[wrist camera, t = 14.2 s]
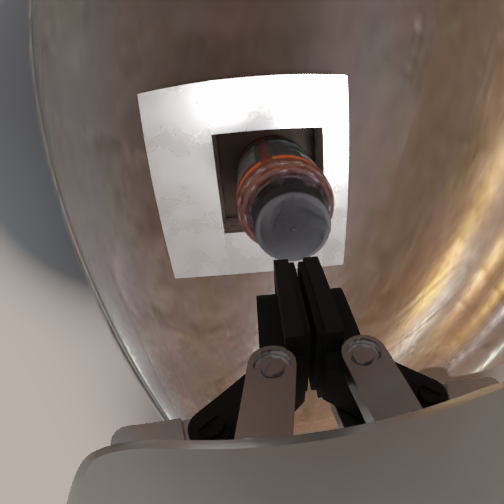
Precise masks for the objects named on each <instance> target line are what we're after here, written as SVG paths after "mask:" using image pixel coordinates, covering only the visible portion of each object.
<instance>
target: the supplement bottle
mask: <svg viewBox="0 0 504 504" xmlns="http://www.w3.org/2000/svg"><path fill="white" fill-rule="evenodd" d="M334 205H335V204H334V195H333V191H332V188H331V186H330V183H329V182H328V180H327V178H326V177H325V175H324V174H323V173H322V171H321V170H320V169H319V168H318V167H317V165H316V164H315V163H314V162H313V161H312V160H311V158H310V157H309V156H308V155H307V154H306V153H305V152H304V151H303V149H302V148H301V147H300V146H298V145H297V144H296V143H295V142H293V141H292V140H290V139H287V138H284V137H280V136H267V137H263V138H260V139H258V140H256V141H254V142H252V143H251V144H250V145H249V146H248V147H247V148H246V149H245V150H244V152H243V153H242V155H241V157H240V159H239V163H238V168H237V189H236V210H237V215H238V219H239V222H240V224H241V226H242V228H243V230H244V232H245V233H246V234H247V235H248V236H249V237H250V238H251V239H252V240H253V241H254V242H256V243H257V244H259V245H260V247H261V248H262V250H263V251H264V252H265V253H267V254H268V255H269V256H271V257H273V258H275V259H278V260H280V259H288V261H289V262H293V261H300V260H303V257H310V256H312V255H314V254H316V253H317V252H318V251H319V250H320V249H321V248H322V247H323V246H324V245H325V243H326V241H327V239H328V237H329V234H330V231H331V219H332V216H333V212H334Z"/></svg>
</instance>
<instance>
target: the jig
mask: <svg viewBox="0 0 504 504" xmlns="http://www.w3.org/2000/svg"><path fill="white" fill-rule="evenodd" d="M137 95H138V102H139V109H140V116H141V122H142V128H143V134H144V140H145V146H146V151H147V157H148V162H149V167H150V173H151V178H152V183H153V187H154V192H155V197H156V202H157V206H158V211H159V215H160V219H161V224H162V228H163V232H164V236H165V241H166V245H167V249H168V253H169V257H170V260H171V264H172V268H173V272H174V276H175V278H189V277H202V276H216V275H229V274H241V273H254V272H266V271H274V264H273V260H278V259H275V258H273V257H271V256H269V255H268V254H267V253H265V252H264V251H263V250H262V248H261V247H260V245H259V244H257V243H256V242H254V241H253V240H252V239H251V238H250V237H249V236H248V235H247V234H246V233H245V232H244V230H243V228H242V226H241V224H240V222H239V219H238V217H233V218H226V211H225V204H224V196H223V188H222V180H221V172H220V164H219V156H218V148H217V140H216V134H225V133H234V132H245V131H257V130H271V129H288V128H314V135H315V164H316V165H317V167H318V168H319V169H320V170H321V171H322V173H323V174H324V175H325V177H326V178H327V180H328V182H329V183H330V186H331V188H332V191H333V195H334V204H335V205H334V212H333V216H332V219H331V231H330V234H329V237H328V239H327V241H326V243H325V245H324V246H323V247H322V248H321V249H320V250H319V251H318V252H317V253H316V254H314V255H312V256H310V257H314V256H318V259H319V261H320V264H321V266H332V265H343V260H344V249H345V235H346V220H347V201H348V173H349V107H348V80H347V75H332V74H288V75H265V76H251V77H239V78H229V79H220V80H212V81H205V82H198V83H191V84H185V85H179V86H174V87H168V88H163V89H158V90H153V91H149V92H144V93H140V94H137ZM300 261H302V260H300ZM300 261H293V262H294V265H295V269H298V262H300Z"/></svg>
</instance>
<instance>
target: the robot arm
mask: <svg viewBox="0 0 504 504" xmlns="http://www.w3.org/2000/svg"><path fill="white" fill-rule="evenodd" d="M273 264H274V283H275V294H272V295H260V296H257V314H258V330H259V347H260V349H258V350H257V351H255V352H254V353H253V354H252V355H251V356H250V358H249V361H248V365H247V370H246V374H245V375H244V376H242V377H241V378H240V379H239V380H238V381H236V382H235V383H234V384H233V385H232V386H230V387H229V388H228V389H227V390H225V391H224V392H223V393H222V394H221V395H219V396H218V397H217V398H216V399H214V400H213V401H212V402H211V403H209V404H208V405H207V406H205V407H204V408H203V409H202V410H200V411H199V412H198V413H197V414H195V415H194V416H193V417H192V419H188V420H183V421H182V420H181V418H179V419H173V420H167V421H160V422H153V423H146V424H139V425H131V426H126V427H122V428H120V429H119V430H117V431H116V432H115V434H114V435H113V436H112V440H111V445H110V446H107V447H104V448H101V449H99V450H96V451H94V452H93V453H91V454H89V455H88V456H87V457H86V458H85V459H84V460H83V461H82V463H81V464H80V466H79V468H78V470H77V472H76V475H75V477H74V480H73V483H72V486H71V490H70V493H69V496H68V501H67V504H504V382H501V383H499V382H498V381H497V380H496V379H493V378H491V377H483V378H475V379H466V380H456V381H446V382H445V384H441V383H439V382H438V381H436V380H434V379H431V378H429V377H427V376H425V375H423V374H420V373H418V372H416V371H414V370H412V369H409V368H407V367H405V366H403V365H401V364H398V363H396V362H394V360H393V359H392V357H391V356H390V354H389V352H388V351H387V349H386V348H385V346H384V345H383V344H382V343H381V341H379V340H378V339H376V338H375V337H372V336H369V335H360V332H359V330H358V327H357V325H356V322H355V320H354V317H353V315H352V312H351V310H350V307H349V305H348V302H347V300H346V297H345V295H344V293H343V290H342V289H341V288H332V289H330V287H329V285H328V282H327V279H326V277H325V274H324V271H323V269H322V266H321V264H320V261H319V259H318V256H314V257H303V260H302V261H300V262H298V276H297V273H296V269H295V265H294V262H289V261H288V259H280V260H273ZM308 377H309V382H310V387H311V390H317V396H318V398H319V397H323V399H324V400H326V401H327V402H329V403H331V404H330V405H331V410H332V412H333V415H334V417H335V420H336V422H337V425H338V427H339V429H335V430H329V431H322V432H316V433H308V434H301V435H293V430H294V412H295V411H296V410H297V409H298V408H299V407H300V406H301V404H302V403H303V402H304V401H305V391H307V387H308Z"/></svg>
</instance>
